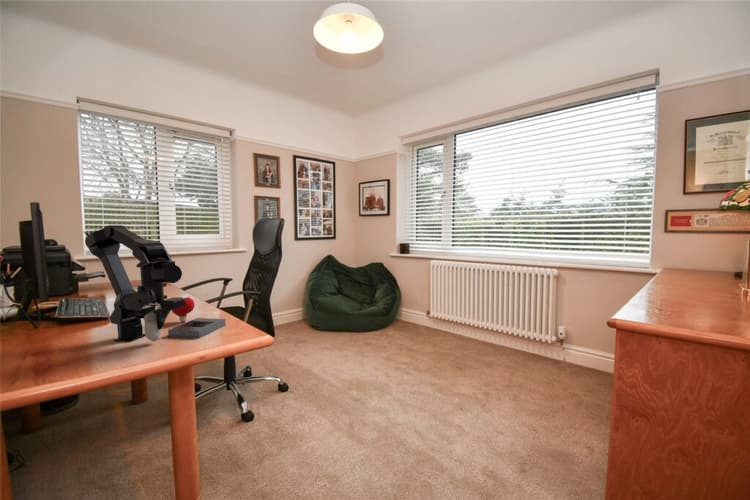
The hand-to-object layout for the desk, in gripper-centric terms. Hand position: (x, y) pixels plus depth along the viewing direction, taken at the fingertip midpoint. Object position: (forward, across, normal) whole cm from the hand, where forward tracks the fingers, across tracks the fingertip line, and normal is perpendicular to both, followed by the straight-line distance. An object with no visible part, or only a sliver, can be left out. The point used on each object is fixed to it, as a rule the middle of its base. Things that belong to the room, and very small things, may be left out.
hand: (155, 328), depth 102 cm
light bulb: (+5, -9, +22) cm, 24 cm away
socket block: (+5, +5, +13) cm, 15 cm away
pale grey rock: (+4, 0, 0) cm, 4 cm away
